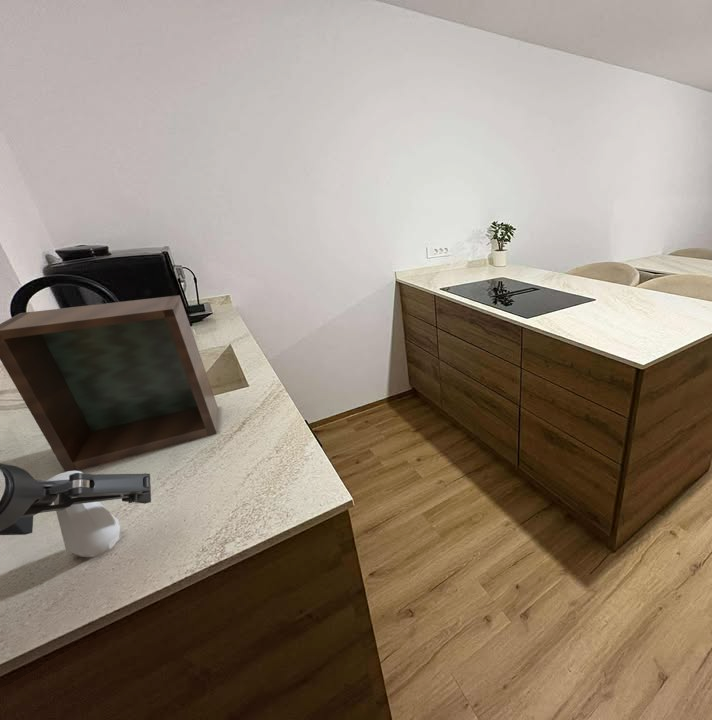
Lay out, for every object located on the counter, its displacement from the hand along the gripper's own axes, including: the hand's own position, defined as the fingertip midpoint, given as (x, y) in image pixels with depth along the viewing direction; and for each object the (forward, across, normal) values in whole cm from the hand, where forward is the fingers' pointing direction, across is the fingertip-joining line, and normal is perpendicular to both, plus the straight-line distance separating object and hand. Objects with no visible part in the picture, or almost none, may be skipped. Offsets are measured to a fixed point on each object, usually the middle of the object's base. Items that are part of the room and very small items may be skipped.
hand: (91, 508), depth 56 cm
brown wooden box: (+25, -2, +17) cm, 30 cm away
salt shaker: (+2, 0, -6) cm, 6 cm away
